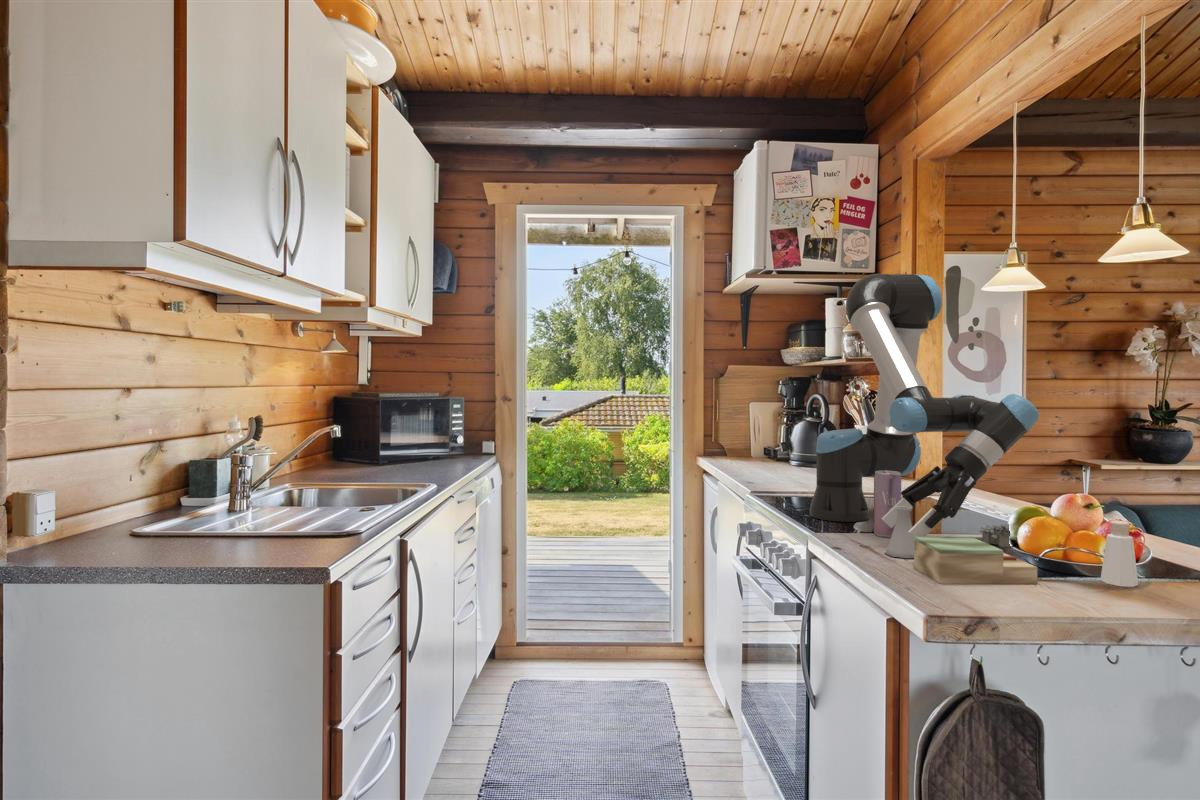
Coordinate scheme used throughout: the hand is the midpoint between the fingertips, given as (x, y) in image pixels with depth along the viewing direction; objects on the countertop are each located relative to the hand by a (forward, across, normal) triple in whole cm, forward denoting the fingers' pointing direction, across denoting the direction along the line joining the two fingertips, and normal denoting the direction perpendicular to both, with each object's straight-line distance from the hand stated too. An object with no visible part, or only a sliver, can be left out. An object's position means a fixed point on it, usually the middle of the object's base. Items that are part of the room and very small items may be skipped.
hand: (899, 529), depth 144 cm
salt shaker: (-18, -20, -26) cm, 37 cm away
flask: (+3, 0, -5) cm, 6 cm away
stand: (-1, -15, -9) cm, 18 cm away
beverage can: (0, +20, -8) cm, 21 cm away
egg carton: (-16, +13, -25) cm, 32 cm away
